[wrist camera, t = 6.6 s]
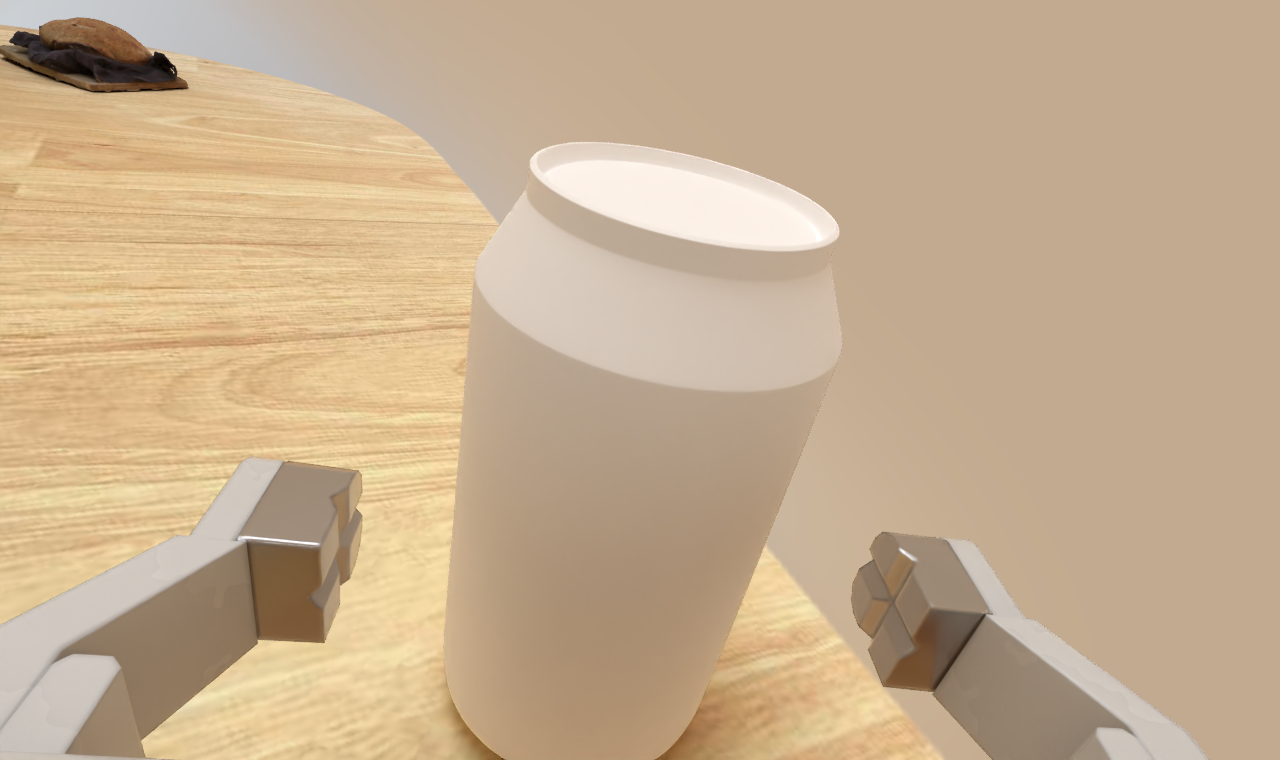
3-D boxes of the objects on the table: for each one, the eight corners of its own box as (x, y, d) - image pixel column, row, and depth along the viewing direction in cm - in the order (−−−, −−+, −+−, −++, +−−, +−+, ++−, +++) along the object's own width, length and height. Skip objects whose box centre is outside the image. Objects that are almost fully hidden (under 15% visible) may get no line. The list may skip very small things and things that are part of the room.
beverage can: (403, 619, 17) (423, 118, 11) (613, 549, 20) (715, 140, 14) (507, 866, 13) (628, 281, 7) (747, 726, 16) (966, 258, 10)
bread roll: (-12, 57, 51) (-26, 1, 49) (109, 57, 58) (100, 8, 56) (83, 93, 48) (72, 35, 46) (198, 88, 55) (192, 38, 53)
